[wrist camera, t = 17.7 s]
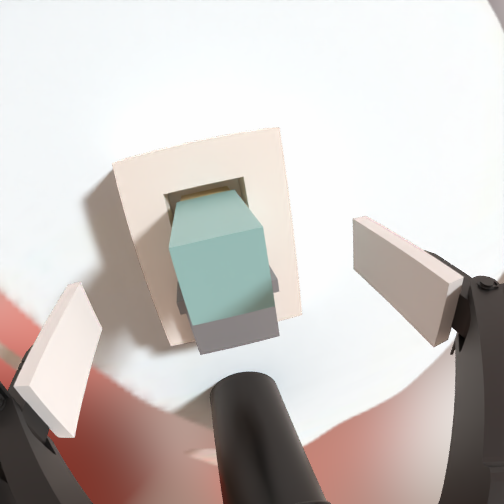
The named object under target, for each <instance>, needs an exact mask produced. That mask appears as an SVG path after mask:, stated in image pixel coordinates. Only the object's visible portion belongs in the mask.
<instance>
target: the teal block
mask: <svg viewBox="0 0 504 504" xmlns="http://www.w3.org/2000/svg"><path fill="white" fill-rule="evenodd" d="M169 251H170V255H171V258H172V262H173V265H174V269H175V272H176V275H177V279H178V282H179V285H180V288H181V292H182V295H183V298H184V301H185V304H186V307H187V310H188V313H189V316H190V319H191V322H192V325H193V326H194V325H198V324H203V323H207V322H212V321H216V320H220V319H225V318H229V317H233V316H237V315H242V314H246V313H250V312H254V311H258V310H262V309H266V308H270V307H274V306H275V302H274V295H273V288H272V282H271V275H270V268H269V262H268V255H267V249H266V242H265V236H264V230H263V226H262V225H261V223H260V222H259V221H258V220H257V218H256V217H255V216H254V214H253V213H252V212H251V210H250V209H249V208H248V207H247V205H246V204H245V203H244V201H243V200H242V199H241V198H240V196H239V195H238V194H237V192H236V191H235V190H230V189H229V188H228V186H224V187H219V188H214V189H210V190H205V191H201V192H196V193H192V194H187V195H183V196H181V201H180V202H177V203H176V209H175V214H174V220H173V225H172V231H171V237H170V243H169Z"/></svg>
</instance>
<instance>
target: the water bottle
mask: <svg viewBox="0 0 504 504" xmlns="http://www.w3.org/2000/svg"><path fill="white" fill-rule="evenodd" d="M210 399H211V410H212V419H213V429H214V437H215V445H216V454H217V462H218V469H219V476H220V484H221V491H222V497H223V504H331V503H330V502H328V501H326V499H325V497H324V494H323V492H322V490H321V487H320V485H319V483H318V481H317V478H316V476H315V474H314V472H313V470H312V467H311V465H310V463H309V460H308V458H307V456H306V454H305V452H304V449H303V447H302V444H301V442H300V440H299V437H298V435H297V433H296V430H295V428H294V426H293V423H292V421H291V419H290V416H289V414H288V412H287V409H286V407H285V404H284V402H283V400H282V397H281V395H280V392H279V390H278V388H277V385H276V383H275V381H274V380H273V379H272V378H271V377H269V376H268V375H265V374H262V373H258V372H242V373H237V374H233V375H230V376H228V377H226V378H224V379H222V380H221V381H220V382H218V383H217V384H216V385H215V386H214V388H213V389H212V391H211V395H210Z"/></svg>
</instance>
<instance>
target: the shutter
mask: <svg viewBox="0 0 504 504" xmlns="http://www.w3.org/2000/svg"><path fill="white" fill-rule="evenodd" d="M269 268H270V275H271V282H272V288H273V293H276V292H279V285H278V279H277V277H276V275H275V274H274V272H273V270H272V269H271V267H270V265H269ZM273 295H274V294H273ZM274 302H275V301H274ZM176 303H177V306H178V309H179V312H180V315H182V314H186V315H187V318H188V320H189V323H190V326H191V329H192V332H193V335H194V338H195V341H196V343H197V346H198V349H199V352H200V355H202V354H207V353H211V352H216V351H220V350H225V349H229V348H233V347H238V346H242V345H246V344H250V343H254V342H258V341H262V340H266V339H270V338H273V337H277V336H280V335H279V329H278V322H277V315H276V308H275V306H274V307H270V308H266V309H262V310H258V311H254V312H250V313H246V314H242V315H237V316H233V317H229V318H225V319H220V320H216V321H212V322H207V323H203V324H198V325H194V326H193V325H192V322H191V319H190V316H189V313H188V310H187V307H186V304H185V301H184V298H183V295H182V292H181V288H180V285H179V282H178V281H177V302H176Z"/></svg>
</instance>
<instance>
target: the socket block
mask: <svg viewBox="0 0 504 504" xmlns="http://www.w3.org/2000/svg"><path fill="white" fill-rule="evenodd" d="M112 166H113V171H114V175H115V179H116V183H117V187H118V191H119V195H120V199H121V202H122V206H123V210H124V213H125V217H126V220H127V224H128V227H129V231H130V234H131V237H132V240H133V244H134V247H135V250H136V253H137V256H138V259H139V262H140V265H141V268H142V271H143V274H144V277H145V280H146V283H147V286H148V289H149V291H150V294H151V297H152V300H153V302H154V305H155V308H156V310H157V313H158V316H159V318H160V321H161V323H162V326H163V328H164V331H165V333H166V336H167V338H168V341H169V343H170V346H174V345H179V344H184V343H189V342H194V341H195V338H194V335H193V332H192V329H191V326H190V323H189V320H188V318H187V315H186V314H182V315H180V312H179V309H178V306H177V303H176V302H177V281H178V279H177V275H176V272H175V269H174V265H173V262H172V258H171V255H170V251H169V243H170V237H171V231H172V225H173V220H174V214H175V209H176V203H177V202H180V201H181V196H183V195H187V194H192V193H196V192H201V191H205V190H210V189H214V188H219V187H224V186H228V188H229V189H230V190H235V191H236V192H237V194H238V195H239V196H240V198H241V199H242V200H243V201H244V203H245V204H246V205H247V207H248V208H249V209H250V210H251V212H252V213H253V214H254V216H255V217H256V218H257V220H258V221H259V222H260V223H261V225H262V226H263V230H264V236H265V242H266V249H267V255H268V262H269V265H270V267H271V269H272V270H273V272H274V274H275V275H276V277H277V279H278V285H279V292H276V293H273V294H274V301H275V308H276V315H277V322H278V321H282V320H285V319H289V318H293V317H296V316H300V315H302V310H301V299H300V288H299V278H298V268H297V259H296V249H295V241H294V232H293V223H292V215H291V207H290V199H289V191H288V184H287V177H286V169H285V162H284V155H283V148H282V142H281V135H280V128H279V127H278V128H263V129H257V130H250V131H244V132H238V133H233V134H227V135H222V136H216V137H211V138H206V139H201V140H197V141H192V142H187V143H183V144H179V145H174V146H170V147H166V148H162V149H158V150H154V151H150V152H146V153H143V154H139V155H135V156H132V157H128V158H125V159H122V160H120V161H117V162H115V163H112Z"/></svg>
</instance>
